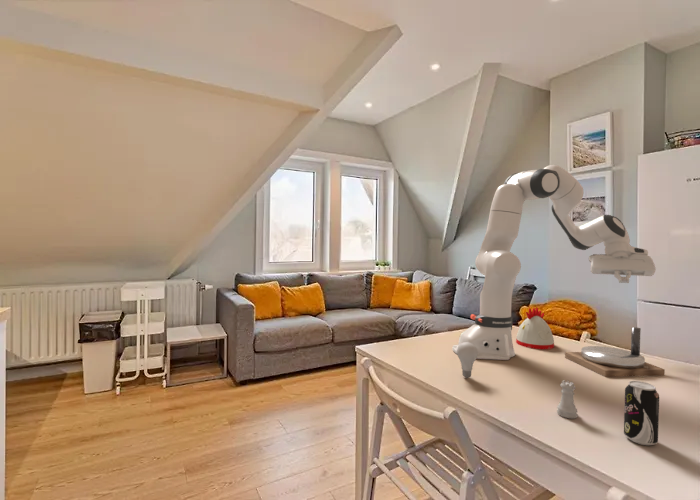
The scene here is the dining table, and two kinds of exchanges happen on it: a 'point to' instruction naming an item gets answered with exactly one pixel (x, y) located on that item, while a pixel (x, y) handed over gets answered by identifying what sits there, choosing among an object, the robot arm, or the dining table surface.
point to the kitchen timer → (535, 332)
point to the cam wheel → (617, 354)
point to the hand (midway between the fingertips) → (624, 281)
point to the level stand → (615, 371)
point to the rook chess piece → (567, 401)
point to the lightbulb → (467, 357)
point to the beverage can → (641, 413)
